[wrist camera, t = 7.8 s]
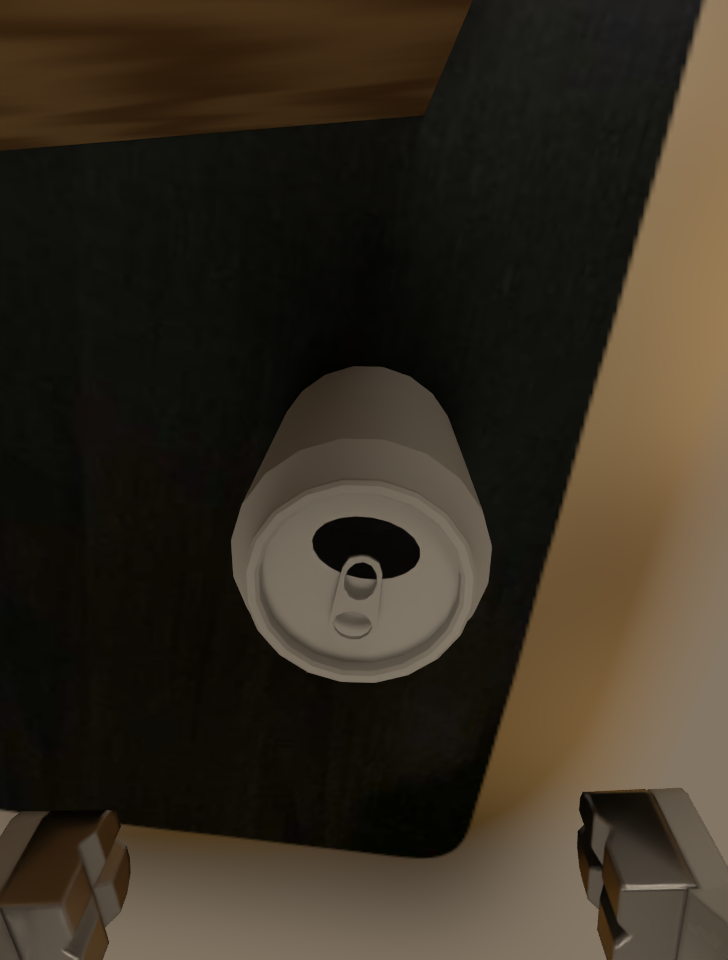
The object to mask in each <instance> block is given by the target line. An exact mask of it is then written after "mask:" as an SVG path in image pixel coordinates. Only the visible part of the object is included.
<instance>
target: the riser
mask: <svg viewBox="0 0 728 960" xmlns="http://www.w3.org/2000/svg"><path fill="white" fill-rule="evenodd" d="M471 3H472V0H0V151H3V150H15V149H26V148H38V147H50V146H62V145H74V144H86V143H98V142H110V141H122V140H134V139H146V138H158V137H170V136H182V135H194V134H206V133H218V132H230V131H241V130H253V129H265V128H277V127H289V126H301V125H313V124H325V123H337V122H349V121H361V120H373V119H385V118H397V117H409V116H421V115H425V112H426V110H427V108H428V105H429V103H430V100H431V98H432V96H433V93H434V91H435V89H436V86H437V84H438V81H439V79H440V77H441V74H442V72H443V69H444V67H445V65H446V62H447V60H448V58H449V55H450V53H451V50H452V48H453V46H454V43H455V41H456V38H457V36H458V34H459V31H460V29H461V27H462V24H463V22H464V19H465V17H466V15H467V12H468V10H469V8H470V5H471Z"/></svg>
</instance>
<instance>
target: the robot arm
mask: <svg viewBox="0 0 728 960" xmlns="http://www.w3.org/2000/svg"><path fill="white" fill-rule="evenodd" d="M579 811H580V814H581V817H582V820H583V823H584V825H583V826H582V827H581V828H580V830H578V842H577V849H578V859H579V867H580V872H581V876H582V881H583V884H584V888H585V891H586V894H587V898H588V900H589V901H590V902H591V903H592V904H594V906H596V907H597V908H598V909H599V914H598V926H597V930H598V933H599V937H600V940H601V943H602V946H603V949H604V952H605V955H606V958H607V960H728V866H727V864H726V863H725V861H724V859H723V857H722V856H721V853H720V852H719V850H718V848H717V846H716V844H715V843H714V841H713V839H712V837H711V836H710V834H709V832H708V830H707V828H706V826H705V824H704V823H703V821H702V819H701V817H700V815H699V814H698V812H697V810H696V808H695V806H694V805H693V803H692V801H691V799H690V797H689V795H688V793H686V792H685V791H684V790H683V789H682V788H668V789H648V790H645V789H638V790H637V789H636V790H615V791H595V792H583V793H582V795H581V797H580V807H579ZM120 827H121V825H120V822H119V819H118V816H117V814H116V811H110V810H83V811H26V812H20V813H19V814H17V815H16V816H15V817H14V818H12V820H11V821H10V822H9V824H8V825H7V827H6V828H5V830H4V832H3V833H2V835H1V837H0V960H103V957H104V954H105V952H106V949H107V947H108V944H109V940H108V937H107V934H106V930H105V927H106V926H107V925H108V924H109V923H110V922H111V921H112V920H113V919H114V918H115V917H116V916H117V915H118V914H119V913H120V912H121V909H122V906H123V904H124V901H125V898H126V895H127V891H128V885H129V879H130V857H129V853H128V849H127V846H126V845H124V844H123V843H122V842H121V841H119V840H118V839H117V838H116V836H117V834H118V832H119V829H120Z"/></svg>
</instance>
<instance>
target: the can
mask: <svg viewBox="0 0 728 960" xmlns="http://www.w3.org/2000/svg"><path fill="white" fill-rule="evenodd" d="M231 546H232V561H233V577H234V579H235V581H236V583H237V586H238V588H239V590H240V593H241V595H242V597H243V600H244V602H245V604H246V607H247V609H248V610H249V612H250V614H251V616H252V618H253V620H254V623H255V625H256V627H257V630H258V631H259V632H260V633H261V634H262V636H263V637H264V638H265V639H266V640H267V641H268V642H269V643H270V645H271V646H272V647H273V648H274V649H275V650H276V651H277V652H278V654H279V655H281V656H283V657H284V658H286V659H287V660H289V661H291V662H292V663H294V664H296V665H297V666H299V667H300V668H302V669H304V670H305V671H307V672H309V673H313V674H316V675H319V676H323V677H326V678H330V679H333V680H337V681H340V682H369V683H376V682H380V681H384V680H389V679H393V678H397V677H401V676H406V675H409V674H411V673H413V672H414V671H416V670H418V669H420V668H422V667H424V666H425V665H427V664H429V663H431V662H433V661H434V660H436V659H438V658H439V657H440V656H441V655H442V654H443V653H444V652H445V651H446V650H447V649H448V648H449V647H450V646H451V644H452V643H453V642H454V641H455V640H456V639H457V638H458V637H459V636H460V635H461V633H462V631H463V629H464V627H465V625H466V622H467V621H468V620H469V619H470V617H471V616H472V615H473V613H474V611H475V609H476V607H477V605H478V603H479V601H480V599H481V597H482V595H483V593H484V591H485V588H486V586H487V584H488V580H489V570H490V560H491V550H492V546H491V542H490V538H489V534H488V530H487V527H486V523H485V519H484V515H483V511H482V508H481V506H480V503H479V500H478V497H477V495H476V492H475V489H474V487H473V484H472V481H471V478H470V476H469V473H468V470H467V467H466V465H465V462H464V459H463V457H462V454H461V451H460V448H459V446H458V443H457V440H456V437H455V435H454V432H453V429H452V426H451V424H450V421H449V418H448V416H447V415H446V413H445V412H444V410H443V409H442V407H441V406H440V404H439V403H438V401H437V400H436V398H435V397H434V395H433V394H432V393H431V392H430V391H428V390H427V389H426V388H424V387H423V386H422V385H420V384H419V383H418V382H416V381H415V380H414V379H413V378H411V377H410V376H407V375H404V374H401V373H398V372H396V371H393V370H390V369H387V368H384V367H362V366H353V367H349V368H346V369H343V370H339V371H336V372H333V373H329V374H326V375H324V376H323V377H322V378H320V379H319V380H317V381H316V382H314V383H313V384H312V385H310V386H309V387H307V388H306V389H304V390H303V391H302V392H301V394H300V395H299V396H298V398H297V399H296V400H295V402H294V403H293V404H292V406H291V407H290V408H289V410H288V411H287V413H286V414H285V417H284V419H283V421H282V423H281V425H280V427H279V429H278V431H277V433H276V435H275V437H274V439H273V441H272V443H271V445H270V448H269V450H268V452H267V454H266V456H265V458H264V460H263V462H262V464H261V466H260V468H259V470H258V472H257V474H256V477H255V479H254V481H253V483H252V485H251V487H250V489H249V491H248V493H247V495H246V497H245V499H244V501H243V503H242V506H241V509H240V513H239V516H238V519H237V523H236V526H235V529H234V533H233V536H232V539H231Z"/></svg>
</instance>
